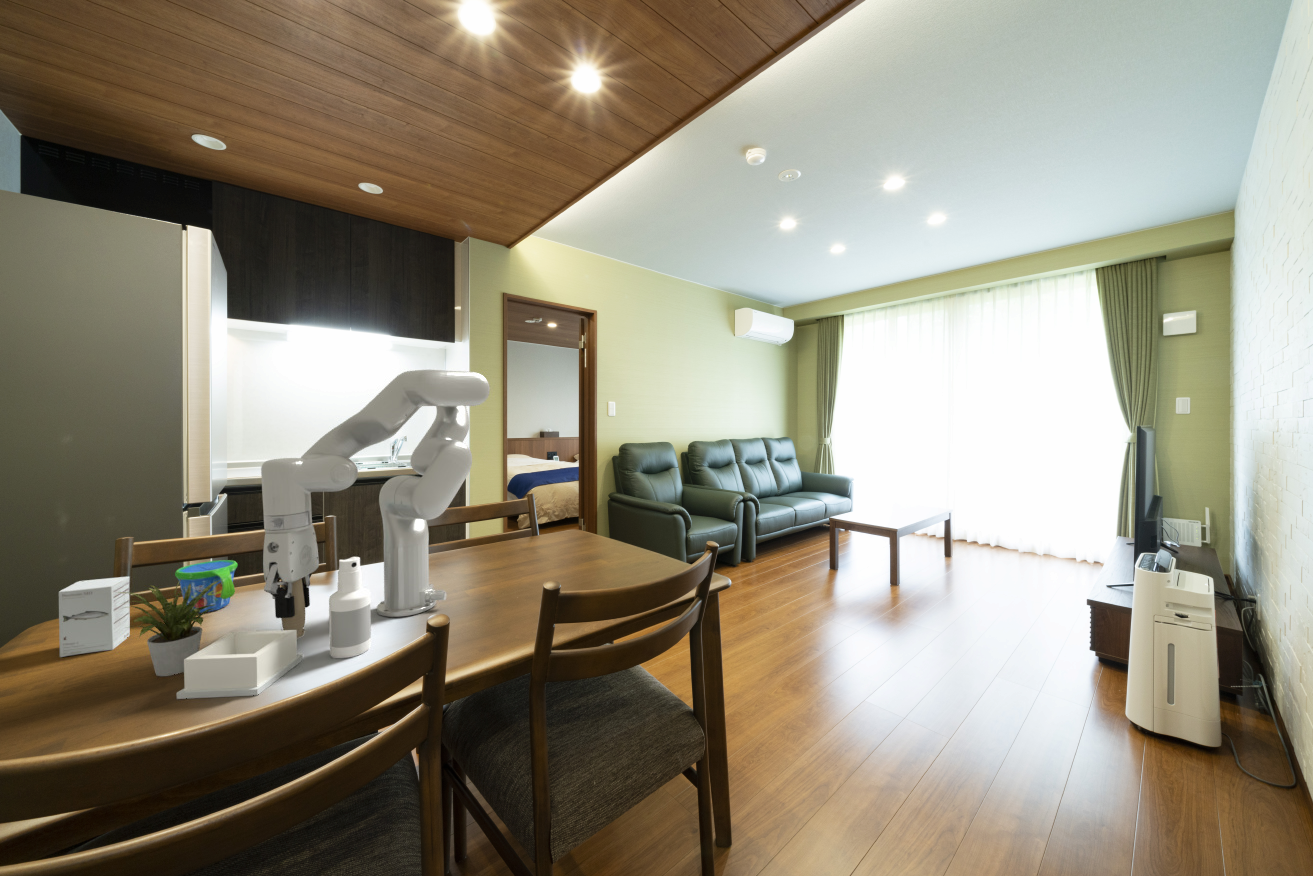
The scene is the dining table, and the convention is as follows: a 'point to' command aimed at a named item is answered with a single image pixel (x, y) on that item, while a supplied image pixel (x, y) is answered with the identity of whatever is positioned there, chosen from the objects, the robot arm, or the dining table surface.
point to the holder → (240, 664)
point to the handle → (296, 610)
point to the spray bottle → (349, 612)
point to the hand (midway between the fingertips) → (293, 611)
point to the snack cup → (208, 583)
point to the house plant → (172, 630)
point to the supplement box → (93, 615)
